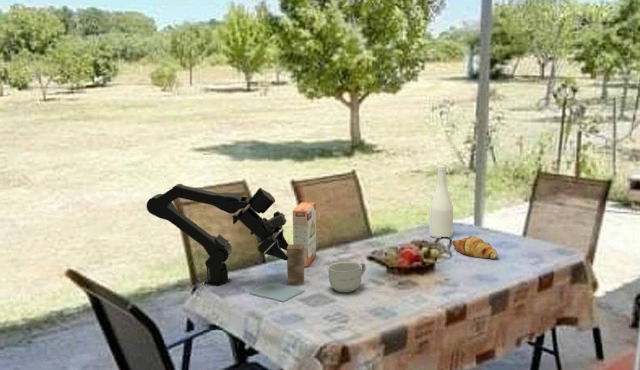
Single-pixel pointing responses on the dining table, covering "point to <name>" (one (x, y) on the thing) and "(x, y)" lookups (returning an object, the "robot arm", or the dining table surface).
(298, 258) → the walnut block
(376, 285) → the dining table surface
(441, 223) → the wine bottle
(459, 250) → the croissant
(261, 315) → the dining table surface
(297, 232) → the cracker box
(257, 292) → the slate mat
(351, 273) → the teacup
